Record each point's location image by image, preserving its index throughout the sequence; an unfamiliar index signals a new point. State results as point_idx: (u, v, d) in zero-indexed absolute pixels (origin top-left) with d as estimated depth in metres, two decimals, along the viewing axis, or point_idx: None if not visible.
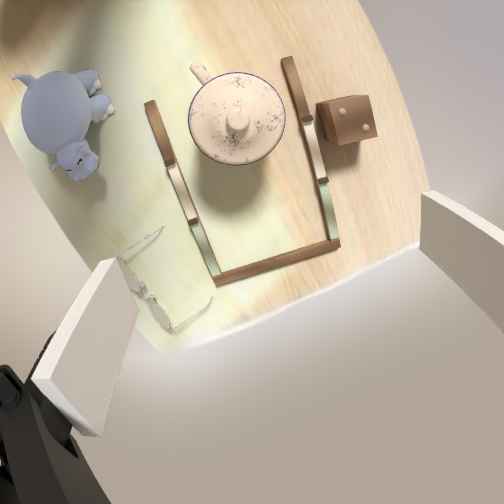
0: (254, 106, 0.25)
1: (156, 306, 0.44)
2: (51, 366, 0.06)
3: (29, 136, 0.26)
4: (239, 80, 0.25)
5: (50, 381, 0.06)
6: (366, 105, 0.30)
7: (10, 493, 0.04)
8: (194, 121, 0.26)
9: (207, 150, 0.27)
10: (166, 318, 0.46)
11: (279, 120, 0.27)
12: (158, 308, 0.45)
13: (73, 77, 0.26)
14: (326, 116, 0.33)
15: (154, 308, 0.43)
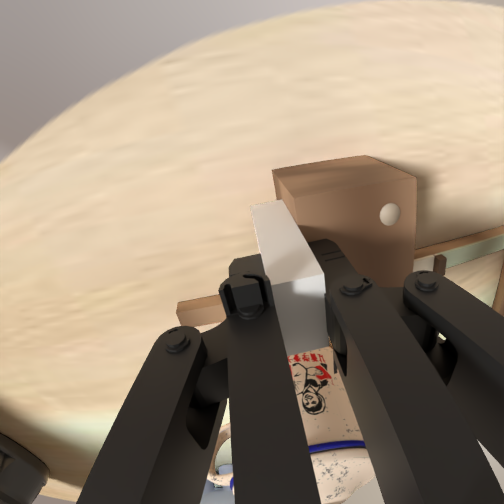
0: None
1: None
2: (288, 271, 0.08)
3: None
4: None
5: (294, 283, 0.08)
6: (327, 208, 0.11)
7: (189, 453, 0.05)
8: None
9: None
10: None
11: (334, 465, 0.12)
12: None
13: None
14: None
15: None
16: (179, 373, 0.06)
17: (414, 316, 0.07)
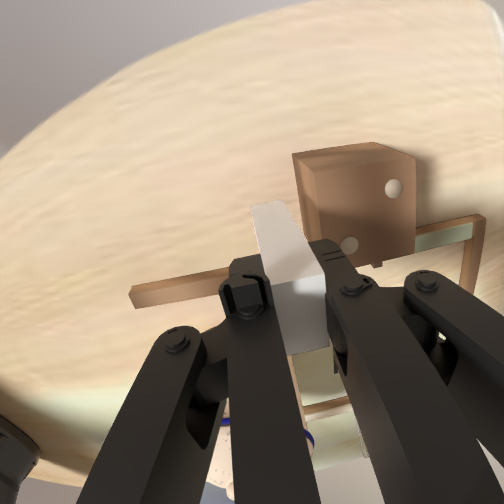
0: (224, 473, 0.14)
1: None
2: (287, 272, 0.08)
3: None
4: None
5: (294, 283, 0.08)
6: (340, 181, 0.13)
7: (189, 453, 0.05)
8: None
9: None
10: None
11: None
12: None
13: None
14: None
15: None
16: (179, 373, 0.06)
17: (415, 316, 0.07)
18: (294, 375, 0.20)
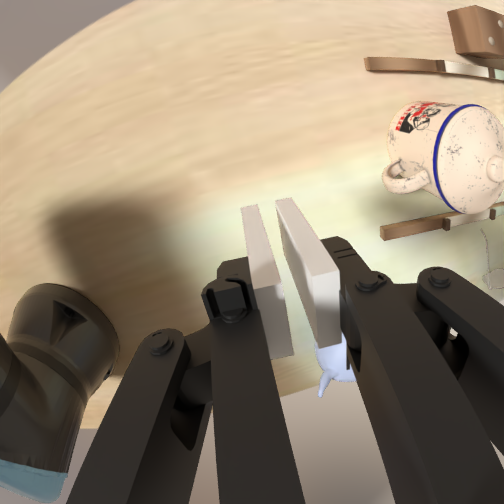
0: (485, 144, 0.16)
1: None
2: (273, 275, 0.08)
3: None
4: (451, 149, 0.18)
5: (279, 287, 0.08)
6: (484, 12, 0.15)
7: (175, 454, 0.05)
8: (470, 209, 0.20)
9: (493, 202, 0.20)
10: None
11: (490, 117, 0.16)
12: None
13: None
14: (482, 54, 0.19)
15: None
16: (163, 375, 0.06)
17: (428, 312, 0.07)
18: None
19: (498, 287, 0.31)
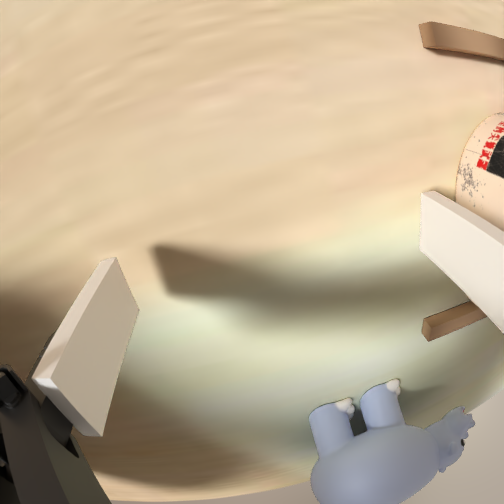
0: None
1: None
2: (51, 366, 0.06)
3: None
4: None
5: (50, 381, 0.06)
6: None
7: (10, 493, 0.04)
8: None
9: None
10: None
11: None
12: None
13: (348, 468, 0.16)
14: None
15: None
16: None
17: None
18: None
19: None
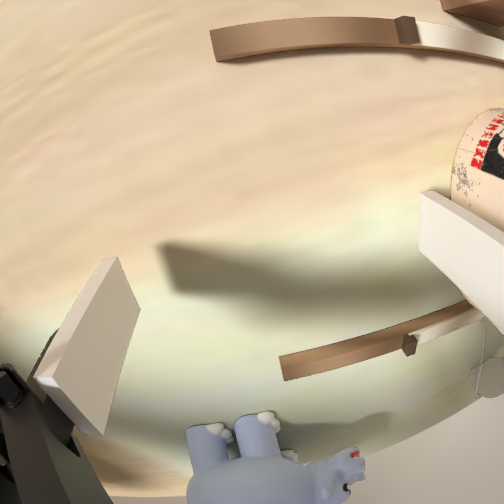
0: None
1: None
2: (53, 364, 0.06)
3: None
4: None
5: (52, 379, 0.06)
6: None
7: (11, 492, 0.04)
8: None
9: None
10: None
11: None
12: None
13: (205, 490, 0.16)
14: (499, 9, 0.07)
15: None
16: None
17: None
18: None
19: (490, 395, 0.18)
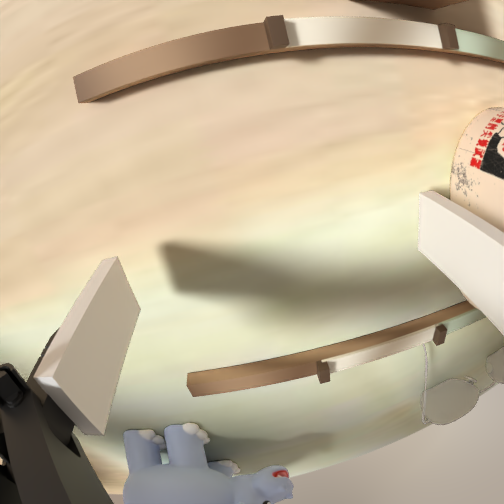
0: None
1: (498, 359, 0.21)
2: (53, 364, 0.06)
3: None
4: None
5: (52, 379, 0.06)
6: None
7: (12, 492, 0.04)
8: None
9: None
10: None
11: None
12: (501, 355, 0.21)
13: (132, 490, 0.16)
14: None
15: (502, 368, 0.20)
16: None
17: None
18: None
19: (440, 422, 0.18)
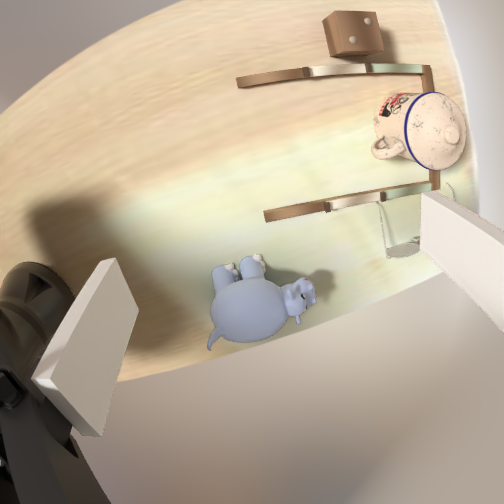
0: (441, 118, 0.25)
1: None
2: (51, 366, 0.06)
3: (265, 338, 0.39)
4: (416, 124, 0.27)
5: (50, 381, 0.06)
6: (345, 15, 0.25)
7: (10, 493, 0.04)
8: (437, 166, 0.29)
9: (455, 160, 0.29)
10: None
11: (445, 99, 0.25)
12: None
13: (223, 293, 0.38)
14: (351, 53, 0.29)
15: None
16: None
17: None
18: None
19: (397, 257, 0.40)
